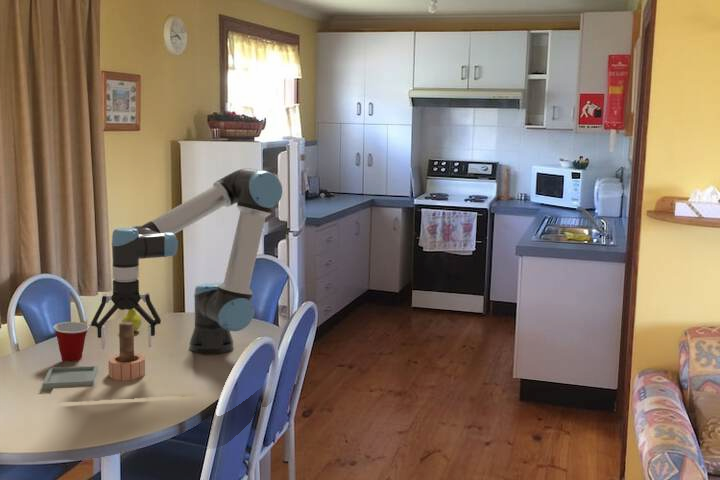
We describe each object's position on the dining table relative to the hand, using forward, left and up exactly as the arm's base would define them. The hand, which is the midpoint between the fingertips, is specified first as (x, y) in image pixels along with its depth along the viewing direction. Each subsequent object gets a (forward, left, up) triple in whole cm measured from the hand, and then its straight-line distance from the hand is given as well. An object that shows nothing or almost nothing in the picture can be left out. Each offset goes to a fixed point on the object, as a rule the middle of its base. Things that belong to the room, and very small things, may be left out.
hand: (126, 346), depth 224 cm
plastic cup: (+18, -18, -10) cm, 27 cm away
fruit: (+1, -50, -10) cm, 51 cm away
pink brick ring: (0, 0, -10) cm, 10 cm away
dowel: (0, 0, -9) cm, 9 cm away
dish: (+16, +1, -10) cm, 19 cm away
